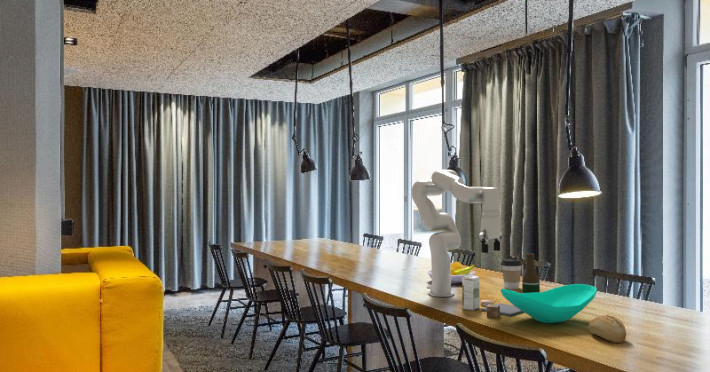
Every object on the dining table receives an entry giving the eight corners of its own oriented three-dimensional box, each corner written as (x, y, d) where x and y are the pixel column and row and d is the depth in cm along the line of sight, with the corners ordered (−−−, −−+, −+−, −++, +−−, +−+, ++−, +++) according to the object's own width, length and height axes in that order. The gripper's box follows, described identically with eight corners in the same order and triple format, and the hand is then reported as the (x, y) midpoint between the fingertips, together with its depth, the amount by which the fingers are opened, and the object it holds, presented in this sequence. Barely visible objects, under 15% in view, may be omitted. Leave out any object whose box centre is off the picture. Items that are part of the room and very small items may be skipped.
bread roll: (603, 332, 209) (602, 310, 208) (634, 342, 194) (634, 319, 194) (582, 334, 206) (581, 313, 206) (612, 345, 191) (611, 322, 191)
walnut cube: (486, 317, 235) (486, 306, 235) (489, 314, 239) (489, 304, 238) (497, 318, 232) (497, 307, 232) (499, 315, 236) (499, 305, 236)
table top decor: (521, 333, 208) (520, 298, 208) (488, 316, 235) (487, 285, 235) (615, 326, 216) (614, 292, 216) (572, 310, 243) (572, 280, 243)
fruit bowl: (418, 280, 323) (418, 261, 323) (457, 276, 335) (457, 257, 335) (446, 288, 298) (446, 267, 298) (487, 283, 309) (486, 263, 309)
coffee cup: (525, 289, 290) (525, 261, 290) (503, 290, 290) (503, 261, 290) (519, 285, 301) (519, 258, 301) (498, 286, 302) (498, 258, 302)
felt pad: (480, 310, 246) (480, 308, 246) (499, 305, 256) (499, 303, 256) (510, 316, 234) (510, 314, 234) (529, 310, 244) (529, 308, 244)
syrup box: (468, 306, 254) (467, 274, 254) (480, 308, 250) (479, 276, 250) (462, 309, 250) (461, 276, 250) (474, 310, 246) (473, 277, 246)
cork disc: (477, 305, 257) (477, 301, 257) (485, 303, 261) (485, 299, 261) (488, 307, 252) (488, 303, 252) (496, 305, 256) (496, 301, 256)
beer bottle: (528, 308, 247) (527, 254, 247) (518, 305, 255) (518, 252, 255) (543, 307, 249) (542, 254, 249) (533, 304, 257) (532, 252, 257)
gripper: (494, 213, 264) (494, 249, 264) (472, 215, 252) (473, 252, 252) (508, 213, 258) (508, 250, 258) (487, 215, 246) (487, 254, 247)
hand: (490, 251), depth 255 cm, fingers open, 9 cm apart
